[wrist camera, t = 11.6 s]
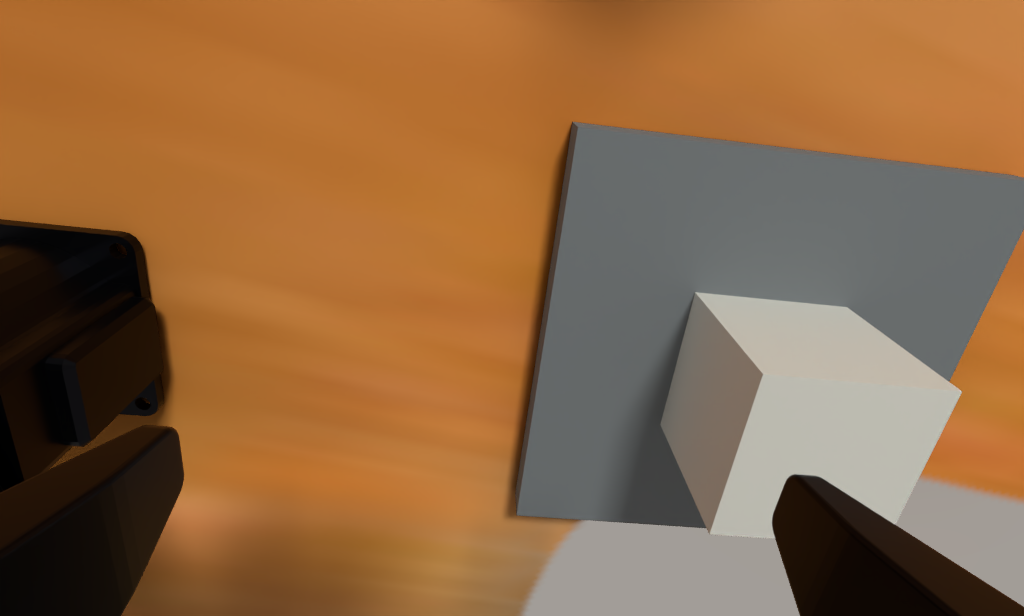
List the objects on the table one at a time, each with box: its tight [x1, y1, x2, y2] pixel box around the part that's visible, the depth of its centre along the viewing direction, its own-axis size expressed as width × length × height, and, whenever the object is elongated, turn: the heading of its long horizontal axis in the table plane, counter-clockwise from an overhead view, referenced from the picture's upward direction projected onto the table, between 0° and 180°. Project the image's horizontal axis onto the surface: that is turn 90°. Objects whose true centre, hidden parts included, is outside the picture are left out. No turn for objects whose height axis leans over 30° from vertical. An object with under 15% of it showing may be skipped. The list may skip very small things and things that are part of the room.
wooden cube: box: [660, 292, 962, 539], centre depth 17 cm, size 5×5×5 cm
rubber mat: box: [515, 122, 1024, 528], centre depth 20 cm, size 14×14×1 cm
